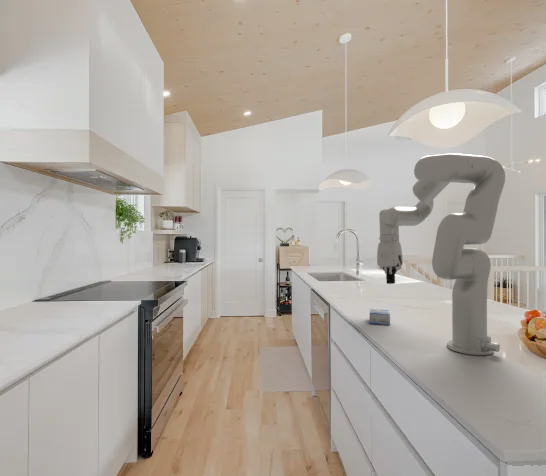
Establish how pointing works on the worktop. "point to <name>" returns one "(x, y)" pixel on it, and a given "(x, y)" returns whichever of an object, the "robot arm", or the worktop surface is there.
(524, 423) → the worktop surface
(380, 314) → the medicine box
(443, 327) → the worktop surface
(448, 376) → the worktop surface
